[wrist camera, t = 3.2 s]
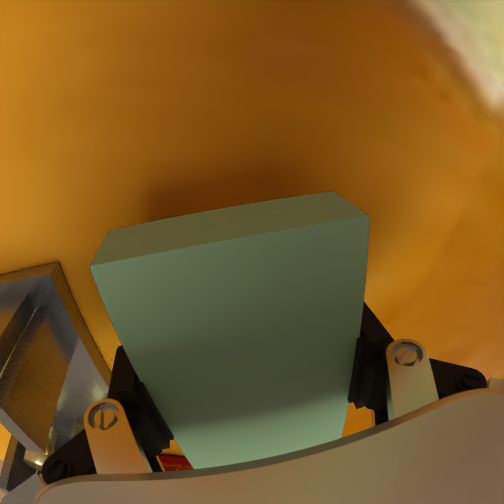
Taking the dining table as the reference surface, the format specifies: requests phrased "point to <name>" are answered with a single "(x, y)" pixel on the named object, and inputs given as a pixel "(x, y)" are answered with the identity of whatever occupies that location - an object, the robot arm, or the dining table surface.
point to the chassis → (43, 369)
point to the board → (242, 321)
